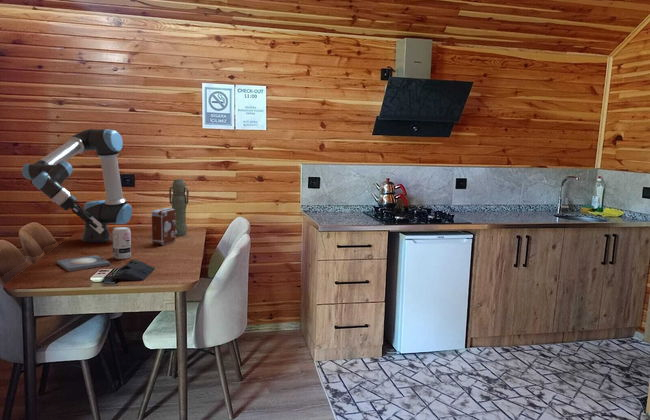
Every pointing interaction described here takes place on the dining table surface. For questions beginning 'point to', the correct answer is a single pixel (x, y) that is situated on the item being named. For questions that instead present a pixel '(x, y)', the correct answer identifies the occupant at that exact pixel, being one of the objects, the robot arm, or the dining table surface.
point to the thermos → (179, 205)
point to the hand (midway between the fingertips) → (101, 229)
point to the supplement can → (121, 243)
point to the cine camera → (163, 226)
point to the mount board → (83, 263)
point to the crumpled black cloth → (134, 271)
